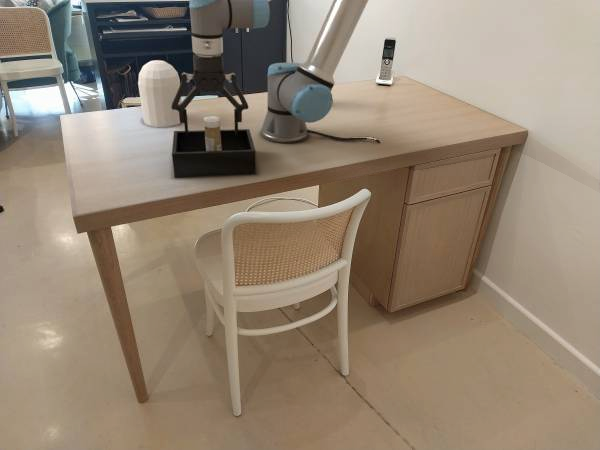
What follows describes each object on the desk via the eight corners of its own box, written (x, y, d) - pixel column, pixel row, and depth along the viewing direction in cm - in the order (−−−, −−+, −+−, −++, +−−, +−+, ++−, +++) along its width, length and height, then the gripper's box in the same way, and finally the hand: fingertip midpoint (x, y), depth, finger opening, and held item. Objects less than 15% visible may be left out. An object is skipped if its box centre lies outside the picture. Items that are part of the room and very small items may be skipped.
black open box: (249, 150, 139) (249, 129, 135) (255, 174, 126) (255, 151, 122) (176, 153, 135) (173, 130, 131) (174, 177, 122) (171, 154, 118)
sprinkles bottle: (225, 164, 130) (223, 119, 122) (210, 167, 127) (207, 122, 120) (218, 158, 133) (216, 114, 125) (204, 161, 131) (200, 117, 123)
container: (180, 112, 164) (175, 55, 153) (186, 125, 153) (180, 65, 142) (142, 114, 159) (133, 56, 148) (145, 128, 149) (136, 66, 138)
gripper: (155, 56, 108) (164, 139, 119) (258, 58, 113) (258, 137, 124) (157, 49, 114) (166, 129, 126) (255, 51, 119) (254, 127, 130)
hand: (211, 133), depth 125 cm, fingers open, 13 cm apart
